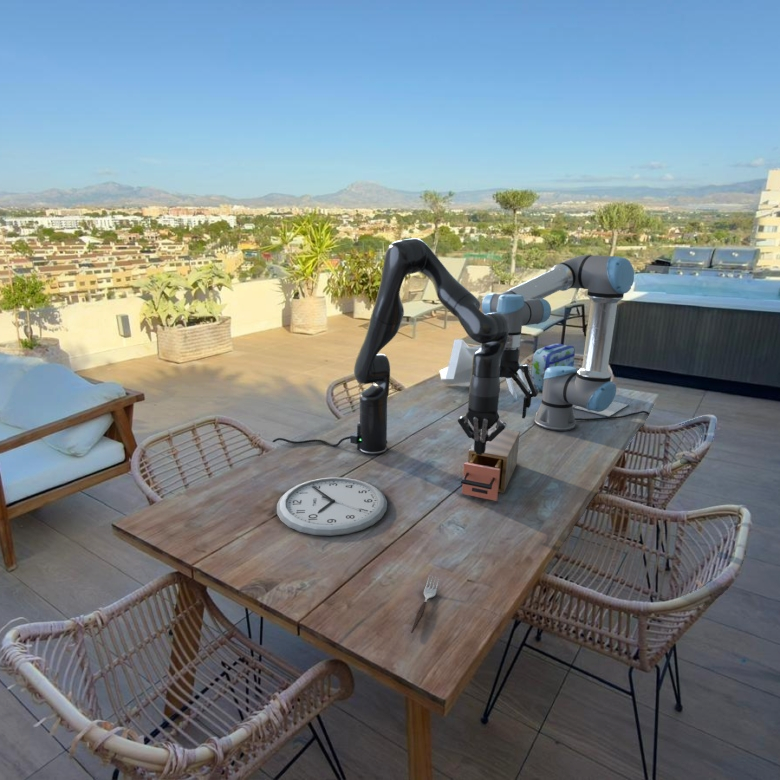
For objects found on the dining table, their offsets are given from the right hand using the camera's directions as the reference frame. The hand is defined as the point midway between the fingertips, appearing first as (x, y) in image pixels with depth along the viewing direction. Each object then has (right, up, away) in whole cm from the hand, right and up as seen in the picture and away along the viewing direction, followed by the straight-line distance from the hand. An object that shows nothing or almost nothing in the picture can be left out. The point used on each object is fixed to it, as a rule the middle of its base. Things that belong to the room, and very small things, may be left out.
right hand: (501, 413), depth 163 cm
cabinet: (-3, -19, 0) cm, 19 cm away
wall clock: (-51, -24, -20) cm, 59 cm away
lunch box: (+43, +8, +89) cm, 99 cm away
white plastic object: (+7, +6, +80) cm, 81 cm away
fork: (-28, -36, -58) cm, 74 cm away
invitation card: (+57, 0, +64) cm, 85 cm away
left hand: (-11, -9, -24) cm, 28 cm away
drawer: (-7, -21, -10) cm, 24 cm away
